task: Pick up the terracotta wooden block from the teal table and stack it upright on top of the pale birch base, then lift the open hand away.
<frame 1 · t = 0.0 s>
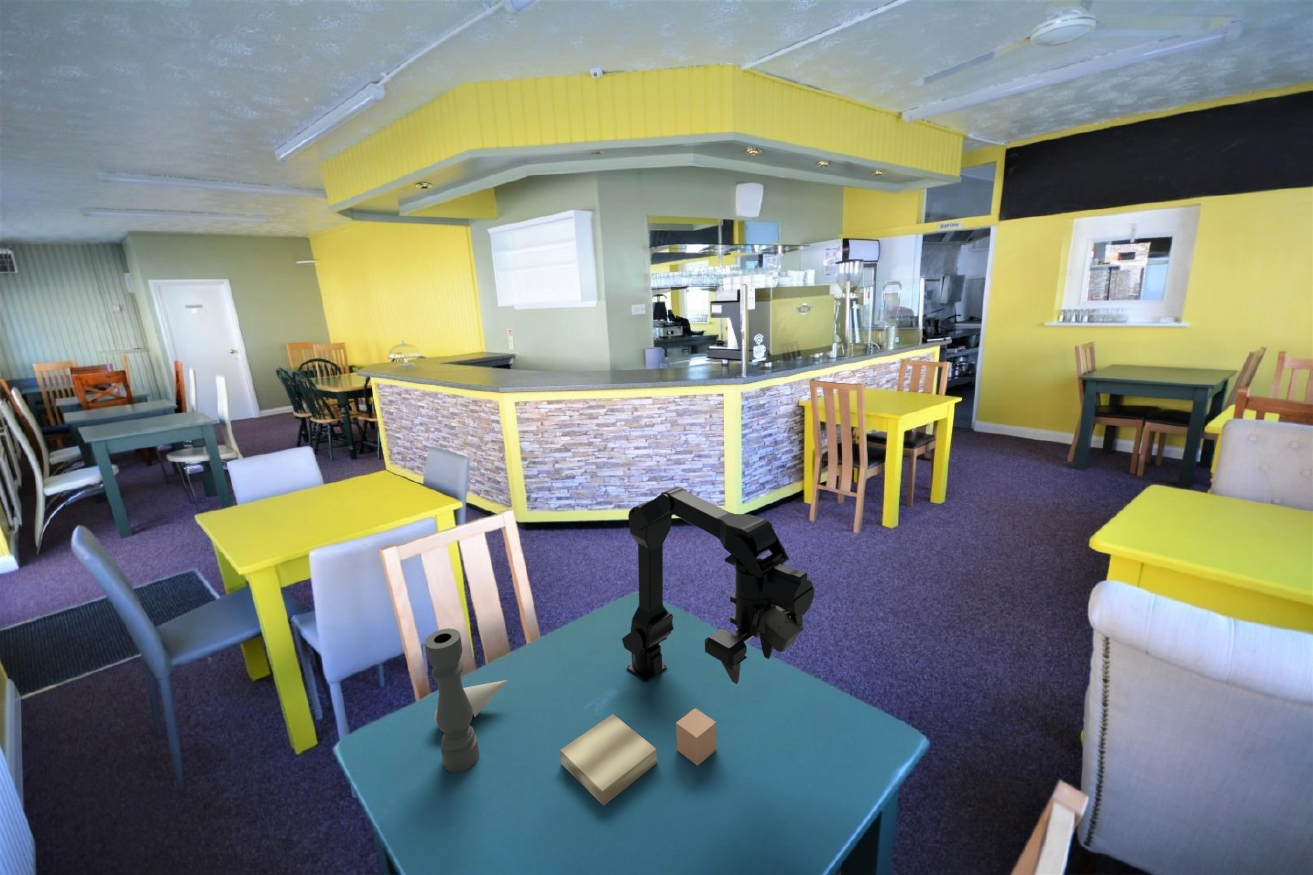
hand: (751, 669, 102), 15 cm above the table, fingers open, 9 cm apart
terracotta block: (696, 749, 104), on the table
candle holder: (461, 759, 104), on the table
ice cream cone: (474, 714, 115), on the table
birch base: (609, 763, 101), on the table
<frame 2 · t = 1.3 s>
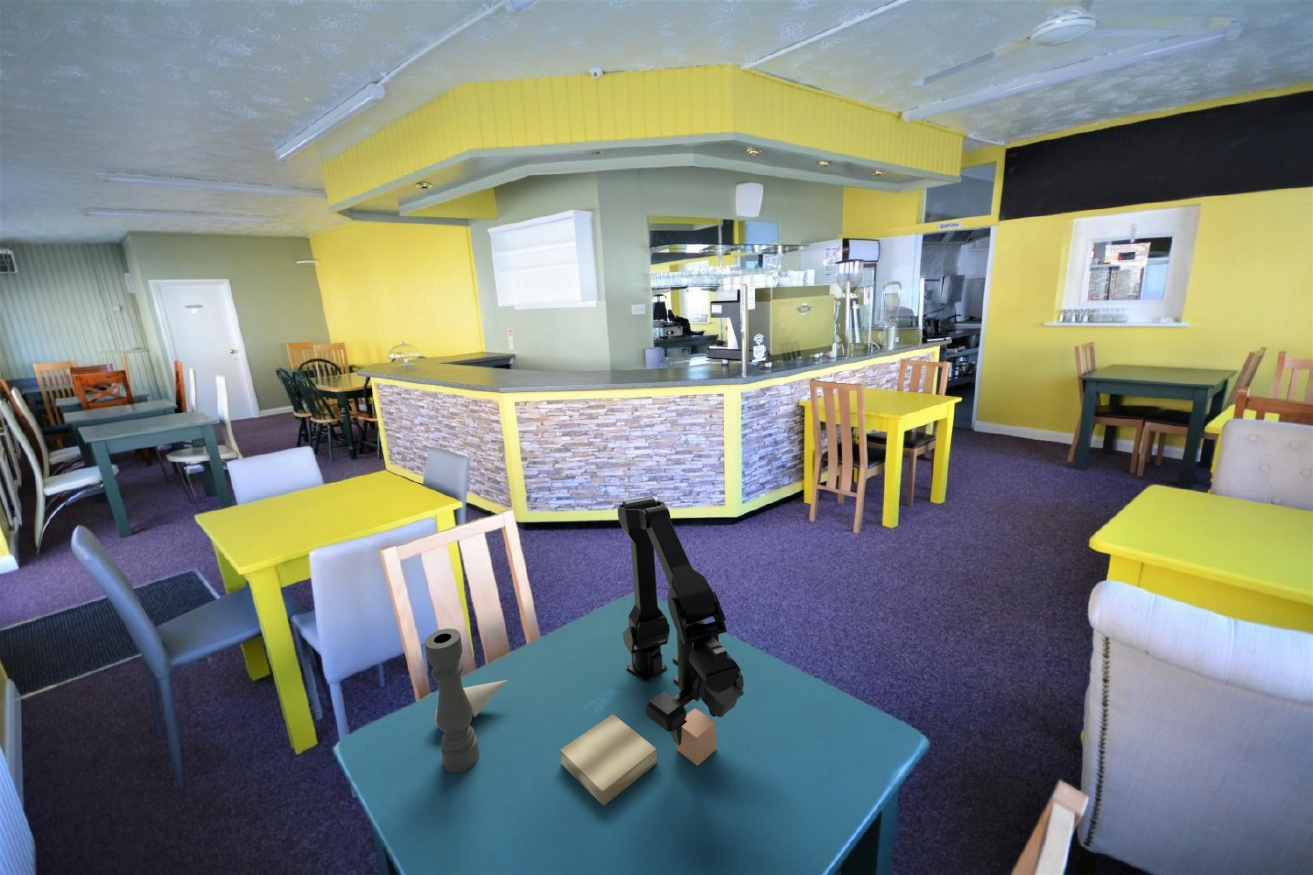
hand: (695, 729, 102), 4 cm above the table, fingers open, 9 cm apart
nothing on the table moved.
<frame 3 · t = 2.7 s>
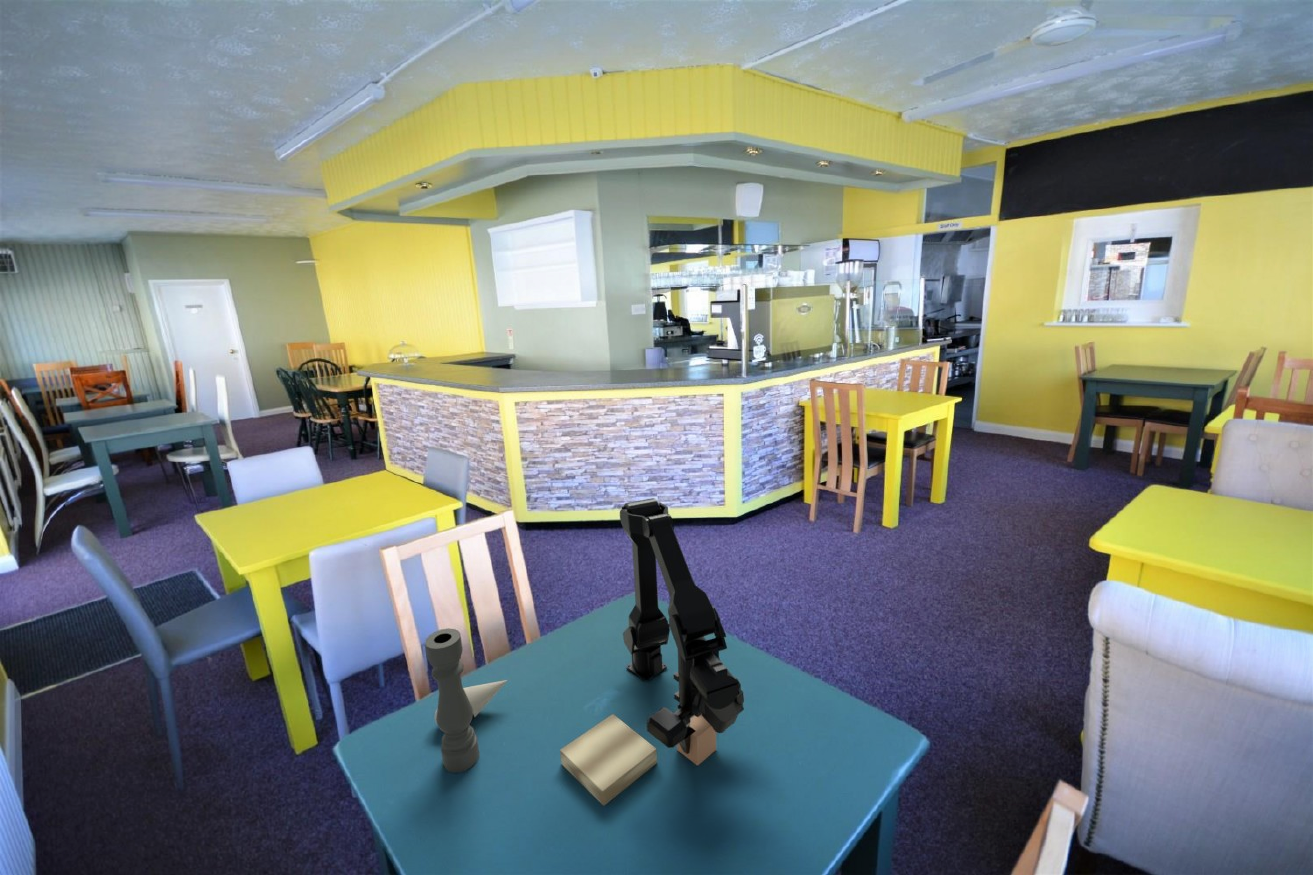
hand: (696, 743, 103), 1 cm above the table, fingers closed on terracotta block, 5 cm apart
terracotta block: (696, 749, 103), on the table, touching gripper
everything else where it was.
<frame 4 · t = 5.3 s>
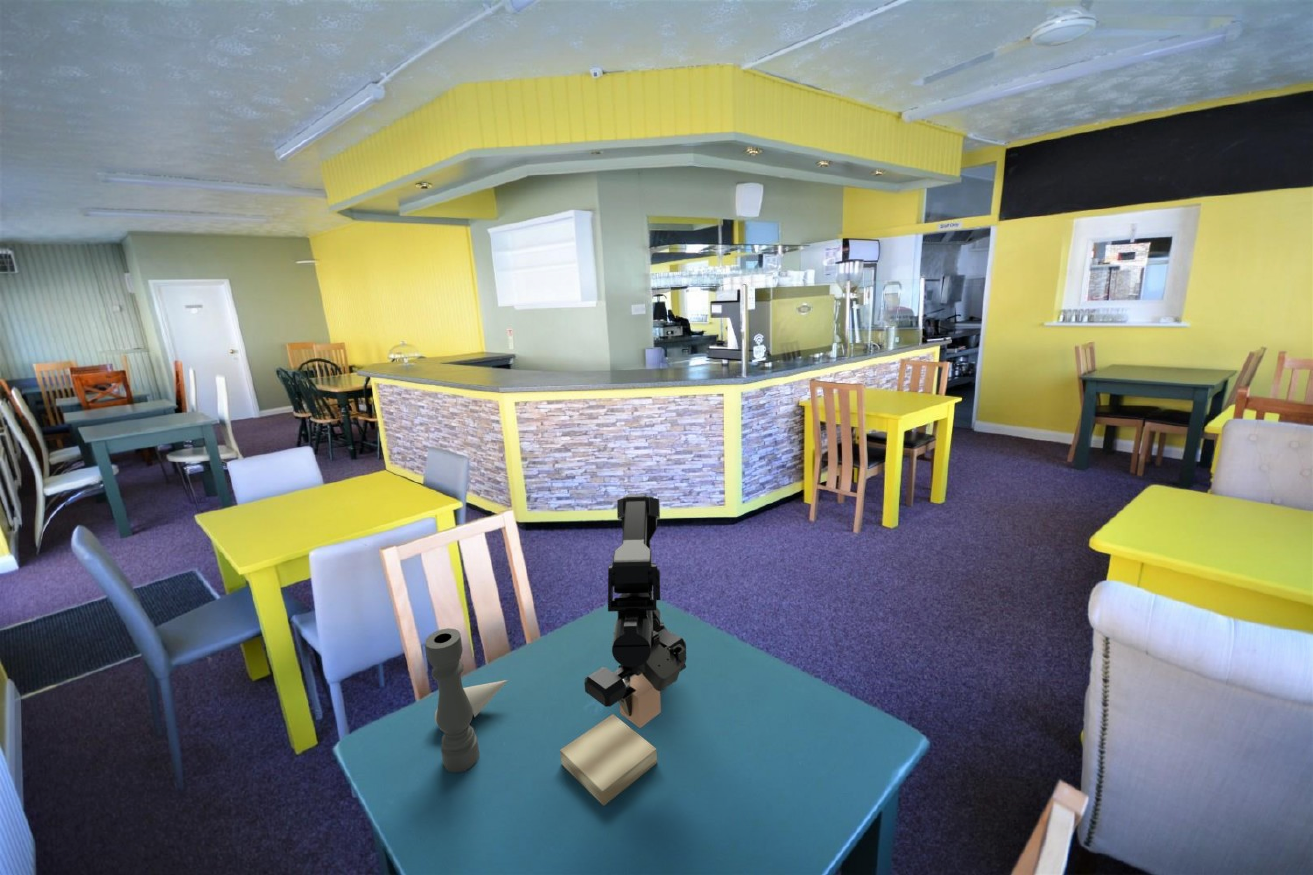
hand: (639, 706, 99), 11 cm above the table, fingers closed on terracotta block, 5 cm apart
terracotta block: (640, 712, 99), point 10 cm above the table, touching gripper
everything else where it was.
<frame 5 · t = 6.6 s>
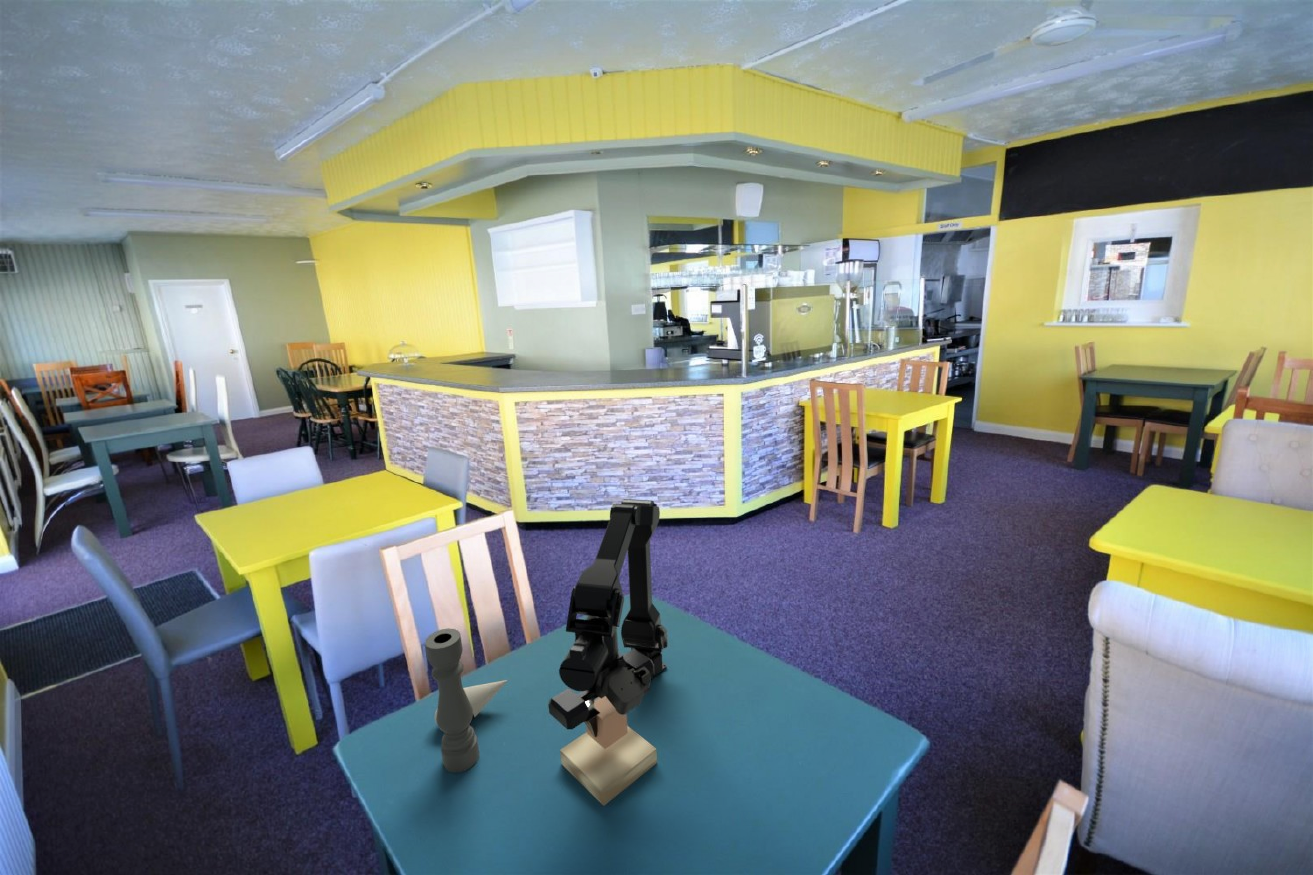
hand: (606, 727, 99), 8 cm above the table, fingers closed on terracotta block, 5 cm apart
terracotta block: (607, 733, 100), point 6 cm above the table, touching gripper
everything else where it was.
when the fingers open (6 cm above the table, at t = 7.8 s): terracotta block drops 1 cm, resting on birch base.
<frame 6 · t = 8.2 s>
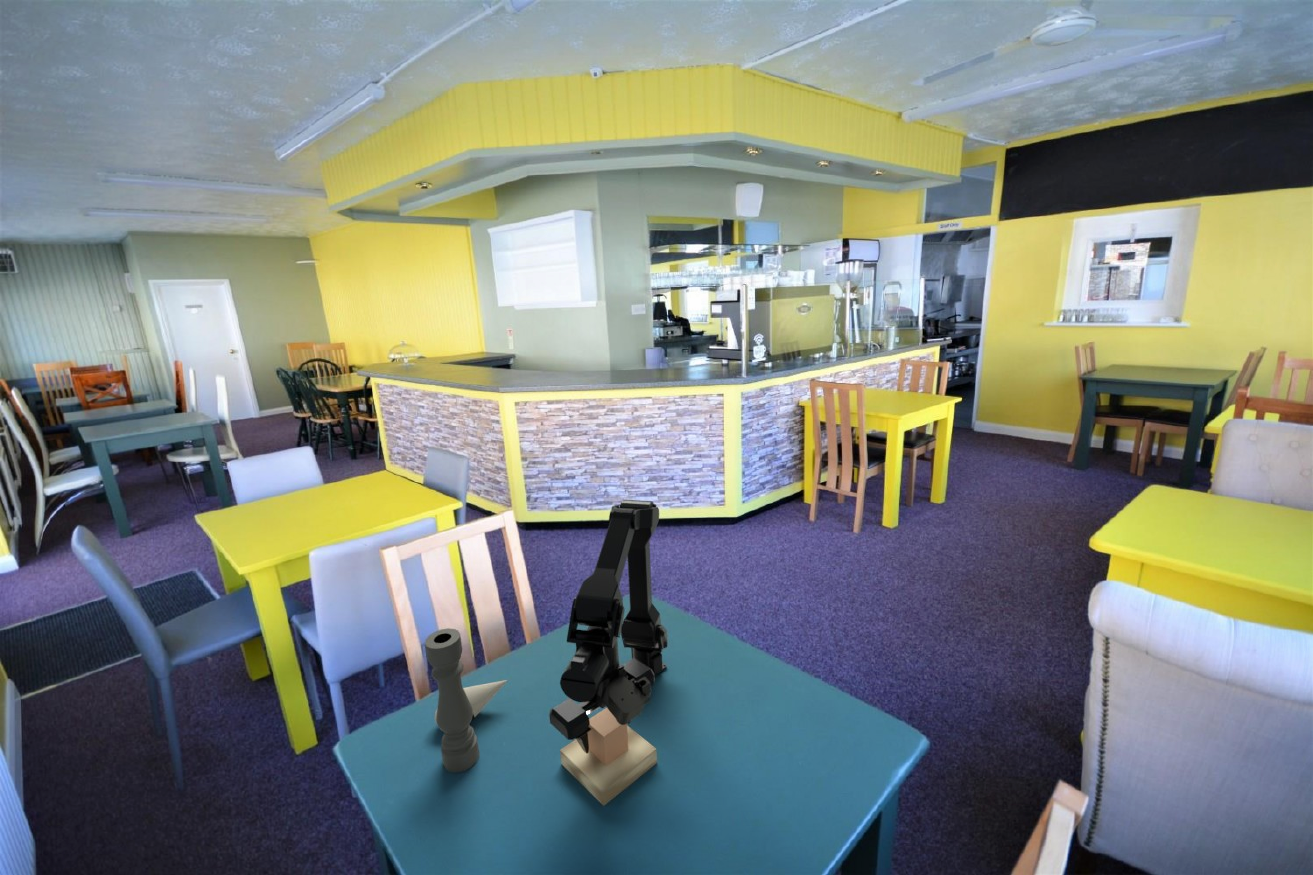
hand: (607, 736, 100), 6 cm above the table, fingers open, 9 cm apart
terracotta block: (608, 749, 100), point 3 cm above the table, touching birch base
everything else where it was.
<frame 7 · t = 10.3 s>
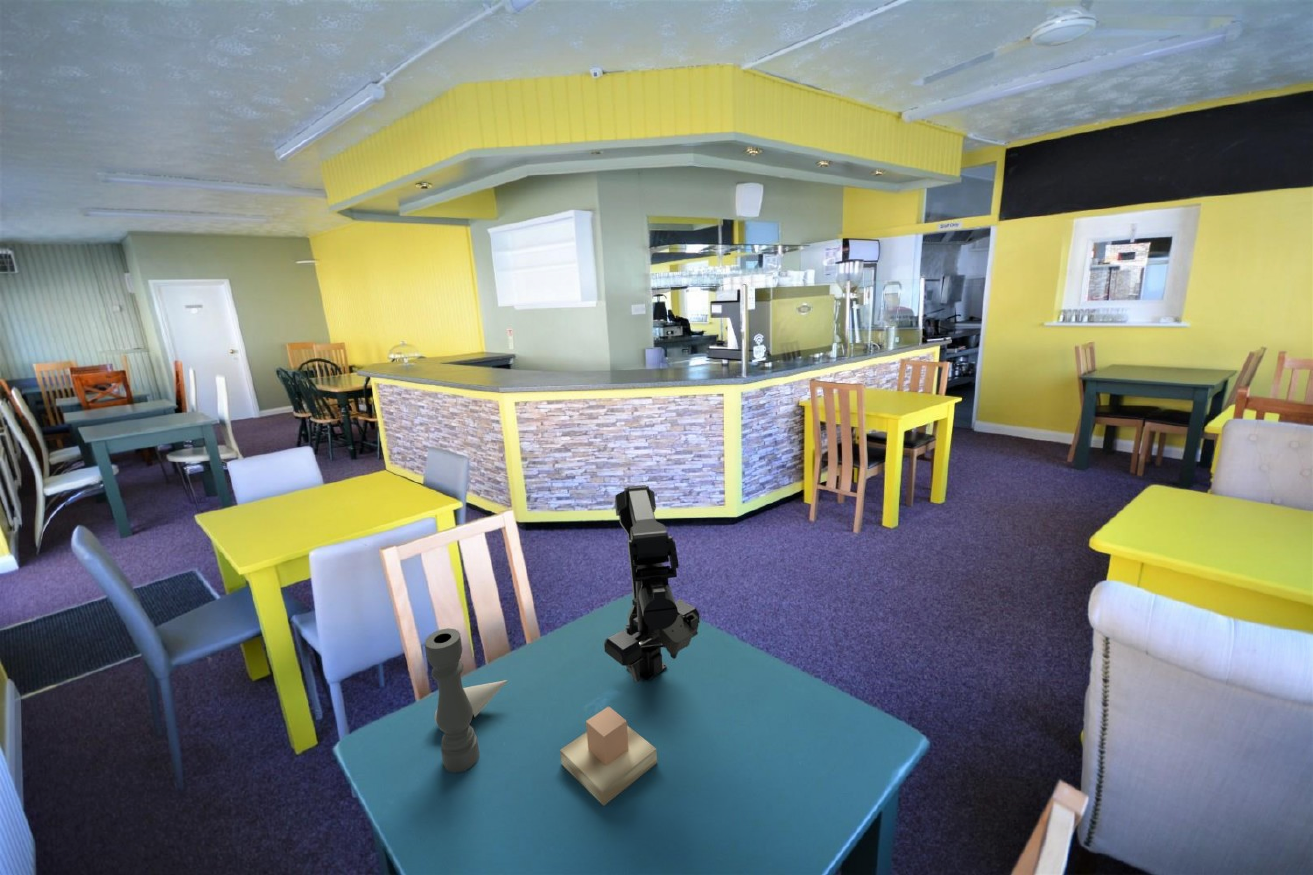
hand: (655, 668, 107), 12 cm above the table, fingers open, 9 cm apart
nothing on the table moved.
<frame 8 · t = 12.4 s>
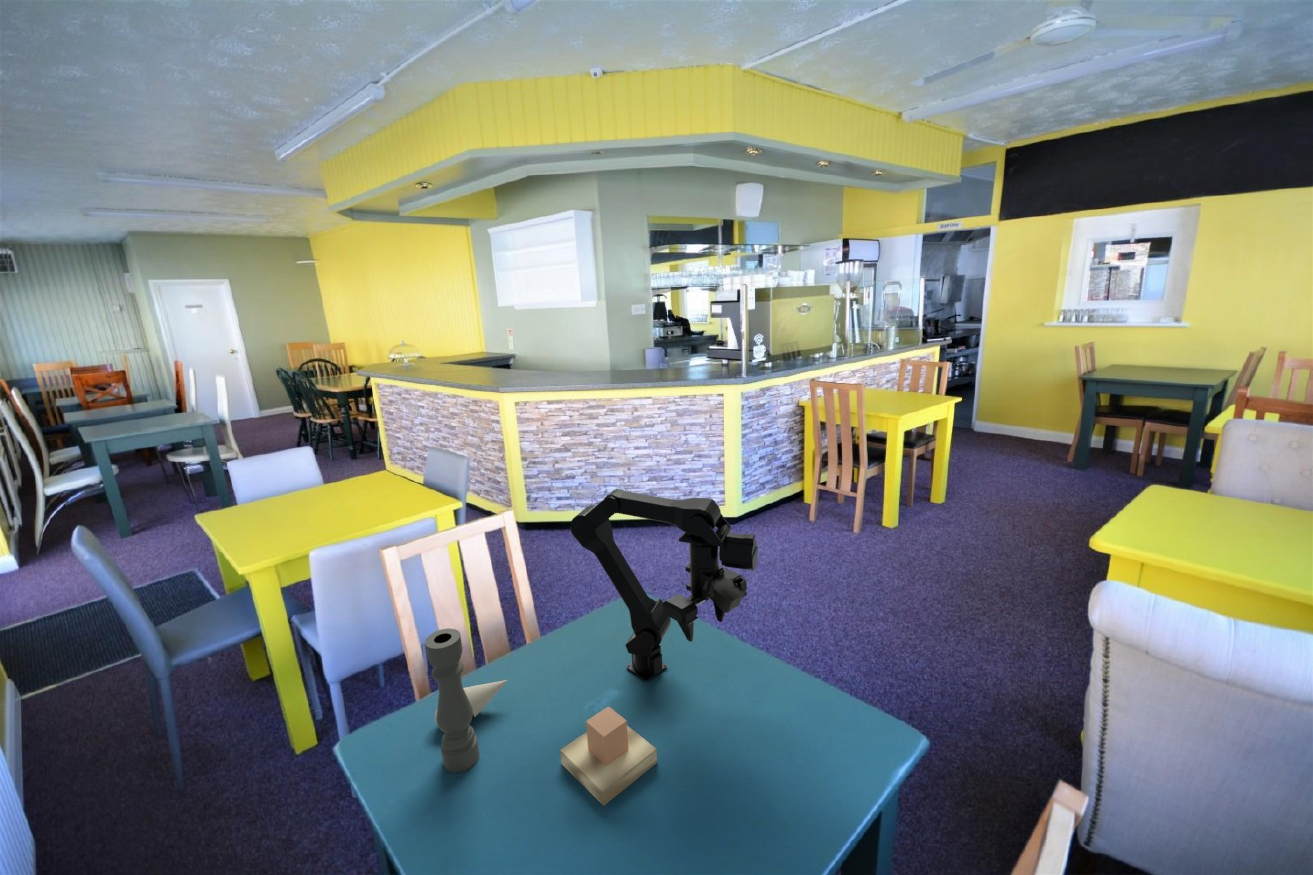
hand: (705, 630, 118), 12 cm above the table, fingers open, 9 cm apart
nothing on the table moved.
at the end: terracotta block inside the target area on the birch base (0.0 cm from its centre), point 3.0 cm above the birch base's base; terracotta block tilted 0°; the gripper is holding nothing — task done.
